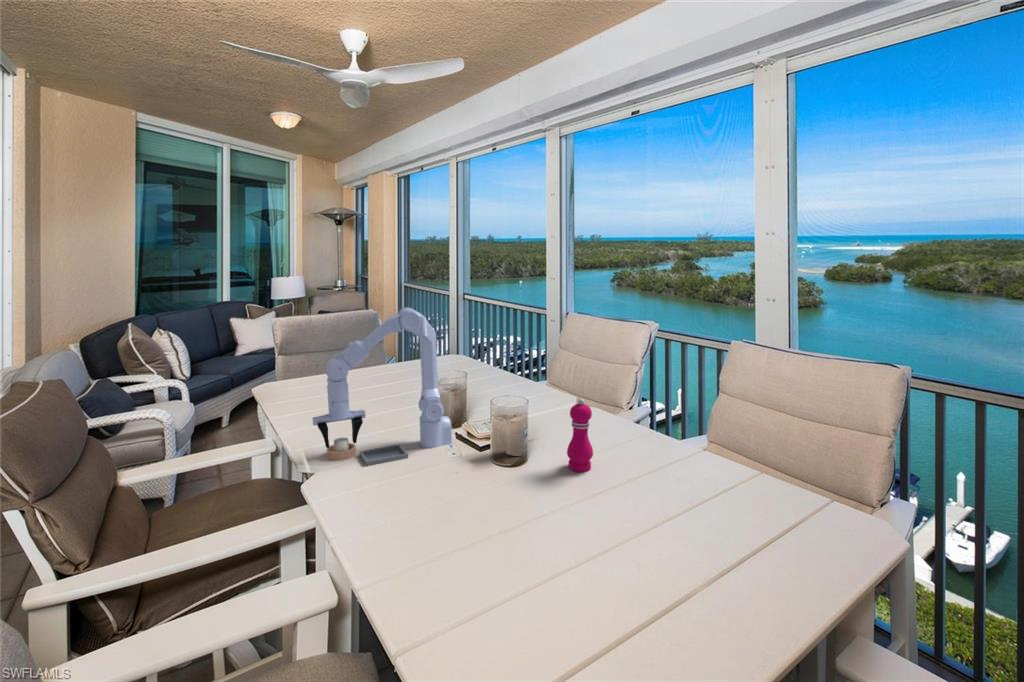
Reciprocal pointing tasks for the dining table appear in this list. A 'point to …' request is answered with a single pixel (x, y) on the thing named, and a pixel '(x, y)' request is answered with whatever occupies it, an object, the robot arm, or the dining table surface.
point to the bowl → (341, 453)
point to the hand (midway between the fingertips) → (341, 444)
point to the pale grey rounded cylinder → (341, 445)
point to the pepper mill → (580, 438)
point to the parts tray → (383, 455)
